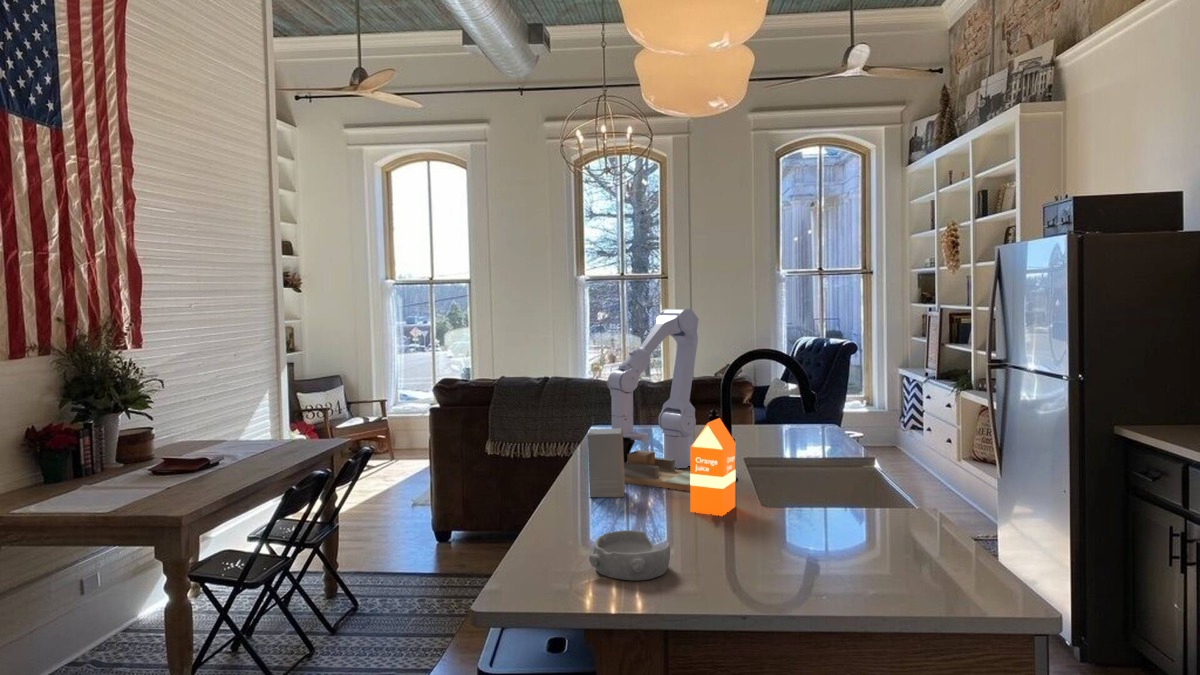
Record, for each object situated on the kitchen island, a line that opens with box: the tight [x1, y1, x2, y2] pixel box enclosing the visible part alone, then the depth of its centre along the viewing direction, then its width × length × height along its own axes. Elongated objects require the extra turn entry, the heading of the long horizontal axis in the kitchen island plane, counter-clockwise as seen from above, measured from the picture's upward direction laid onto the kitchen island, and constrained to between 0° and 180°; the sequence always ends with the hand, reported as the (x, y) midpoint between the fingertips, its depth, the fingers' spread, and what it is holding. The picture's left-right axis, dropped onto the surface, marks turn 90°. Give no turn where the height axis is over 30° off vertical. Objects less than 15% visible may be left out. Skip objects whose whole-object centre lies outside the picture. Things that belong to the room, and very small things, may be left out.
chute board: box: [624, 456, 690, 492], centre depth 204 cm, size 14×24×4 cm, turn 60°
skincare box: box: [586, 428, 626, 498], centre depth 188 cm, size 8×7×16 cm
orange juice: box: [689, 417, 737, 517], centre depth 175 cm, size 8×9×20 cm
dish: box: [588, 529, 671, 581], centre depth 138 cm, size 14×14×5 cm
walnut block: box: [627, 449, 656, 466], centre depth 206 cm, size 6×5×5 cm
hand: (622, 465), depth 209 cm, fingers closed
